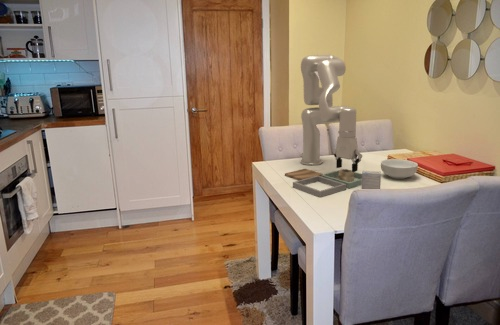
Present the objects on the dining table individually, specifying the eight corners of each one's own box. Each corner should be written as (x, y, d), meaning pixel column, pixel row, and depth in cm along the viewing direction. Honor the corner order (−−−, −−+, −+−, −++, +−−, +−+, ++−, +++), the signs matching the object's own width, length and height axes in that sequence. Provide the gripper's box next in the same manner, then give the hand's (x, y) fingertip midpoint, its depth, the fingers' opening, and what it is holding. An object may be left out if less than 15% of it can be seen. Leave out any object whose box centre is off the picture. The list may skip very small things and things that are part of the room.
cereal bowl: (399, 184, 172) (400, 169, 171) (372, 175, 187) (373, 161, 185) (424, 177, 180) (425, 163, 178) (396, 170, 194) (397, 157, 192)
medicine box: (380, 189, 166) (381, 171, 163) (380, 193, 162) (381, 173, 159) (361, 188, 168) (362, 170, 166) (361, 191, 164) (361, 172, 162)
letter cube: (338, 180, 181) (338, 170, 180) (345, 178, 184) (345, 168, 182) (346, 183, 177) (346, 172, 176) (353, 181, 180) (353, 170, 178)
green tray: (320, 179, 183) (320, 174, 183) (343, 173, 192) (343, 168, 191) (349, 188, 169) (349, 183, 168) (372, 181, 177) (372, 176, 177)
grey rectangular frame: (292, 187, 174) (292, 182, 173) (317, 180, 182) (317, 175, 181) (320, 197, 159) (320, 191, 158) (346, 189, 168) (346, 184, 167)
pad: (284, 175, 192) (284, 173, 192) (305, 170, 200) (305, 168, 199) (303, 181, 181) (303, 179, 180) (323, 176, 188) (323, 174, 188)
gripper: (328, 133, 179) (328, 167, 183) (356, 137, 165) (355, 174, 169) (339, 131, 183) (338, 164, 187) (367, 135, 169) (366, 171, 173)
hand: (346, 169), depth 178 cm, fingers open, 9 cm apart
